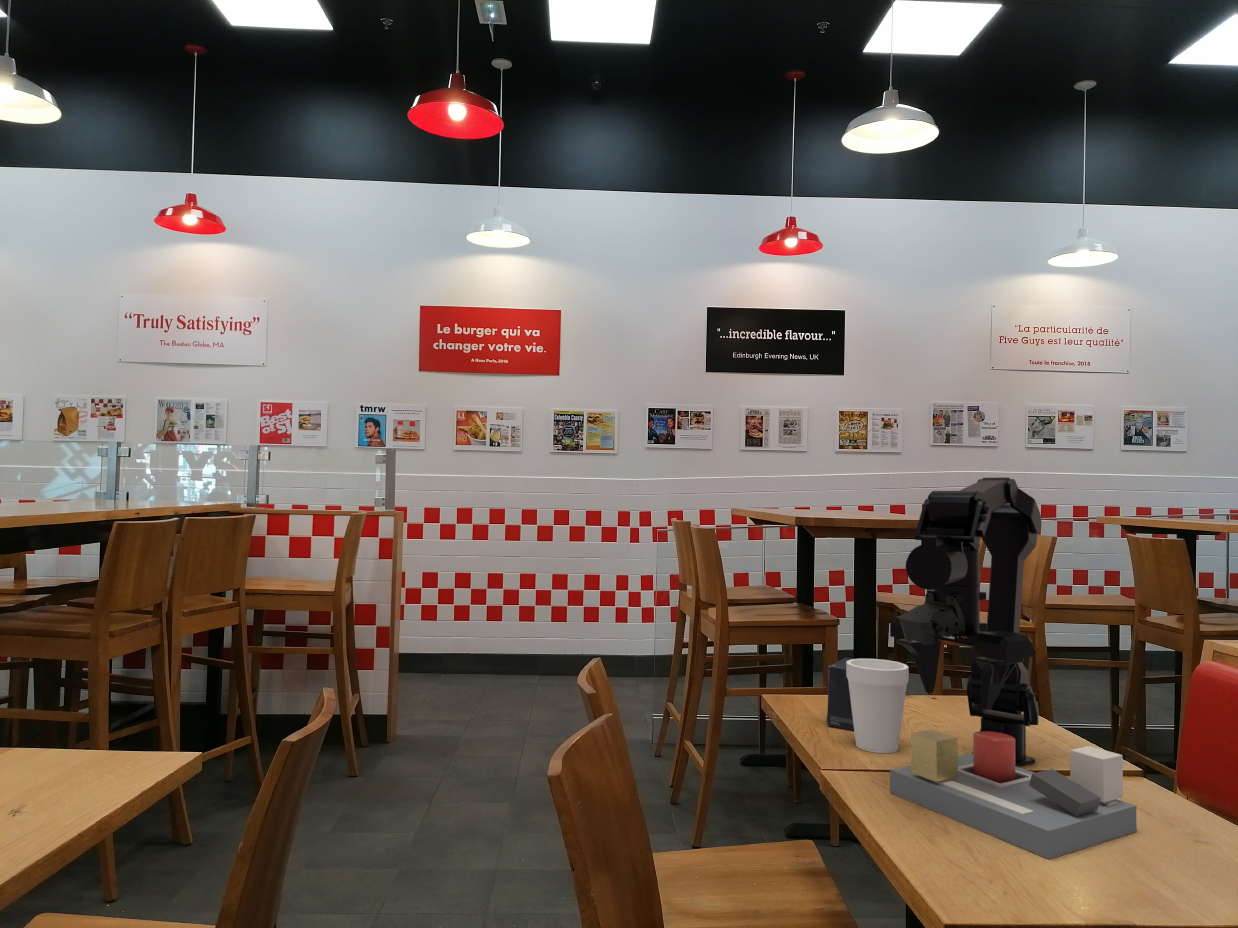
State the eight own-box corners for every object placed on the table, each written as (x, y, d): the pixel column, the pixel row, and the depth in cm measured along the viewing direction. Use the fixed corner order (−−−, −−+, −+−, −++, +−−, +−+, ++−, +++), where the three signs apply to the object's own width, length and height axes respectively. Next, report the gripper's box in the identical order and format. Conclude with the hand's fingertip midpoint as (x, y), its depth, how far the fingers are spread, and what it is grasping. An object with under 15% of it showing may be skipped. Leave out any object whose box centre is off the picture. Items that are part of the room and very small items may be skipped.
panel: (974, 774, 112) (974, 750, 113) (1136, 831, 93) (1136, 802, 93) (890, 792, 104) (890, 767, 105) (1048, 859, 85) (1048, 828, 85)
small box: (863, 733, 132) (864, 670, 133) (825, 726, 136) (826, 665, 136) (879, 719, 141) (879, 660, 142) (843, 713, 145) (843, 656, 145)
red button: (989, 771, 107) (989, 729, 107) (1023, 783, 102) (1023, 739, 102) (965, 777, 104) (965, 733, 104) (999, 789, 100) (998, 743, 100)
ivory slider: (1089, 786, 98) (1089, 745, 98) (1123, 796, 95) (1122, 754, 95) (1070, 791, 96) (1070, 749, 97) (1103, 802, 93) (1103, 759, 93)
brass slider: (932, 767, 104) (932, 729, 104) (957, 777, 101) (957, 737, 101) (910, 771, 102) (911, 732, 102) (936, 781, 99) (936, 741, 99)
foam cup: (912, 758, 119) (912, 672, 120) (849, 753, 121) (849, 668, 122) (902, 740, 128) (902, 660, 129) (844, 735, 130) (844, 656, 131)
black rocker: (1049, 780, 96) (1052, 768, 96) (1097, 809, 91) (1100, 797, 91) (1028, 785, 94) (1032, 773, 94) (1076, 815, 89) (1080, 803, 89)
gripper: (860, 579, 110) (861, 691, 110) (973, 594, 93) (975, 727, 93) (918, 576, 115) (918, 683, 115) (1035, 590, 98) (1036, 715, 98)
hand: (957, 700), depth 105 cm, fingers open, 9 cm apart
